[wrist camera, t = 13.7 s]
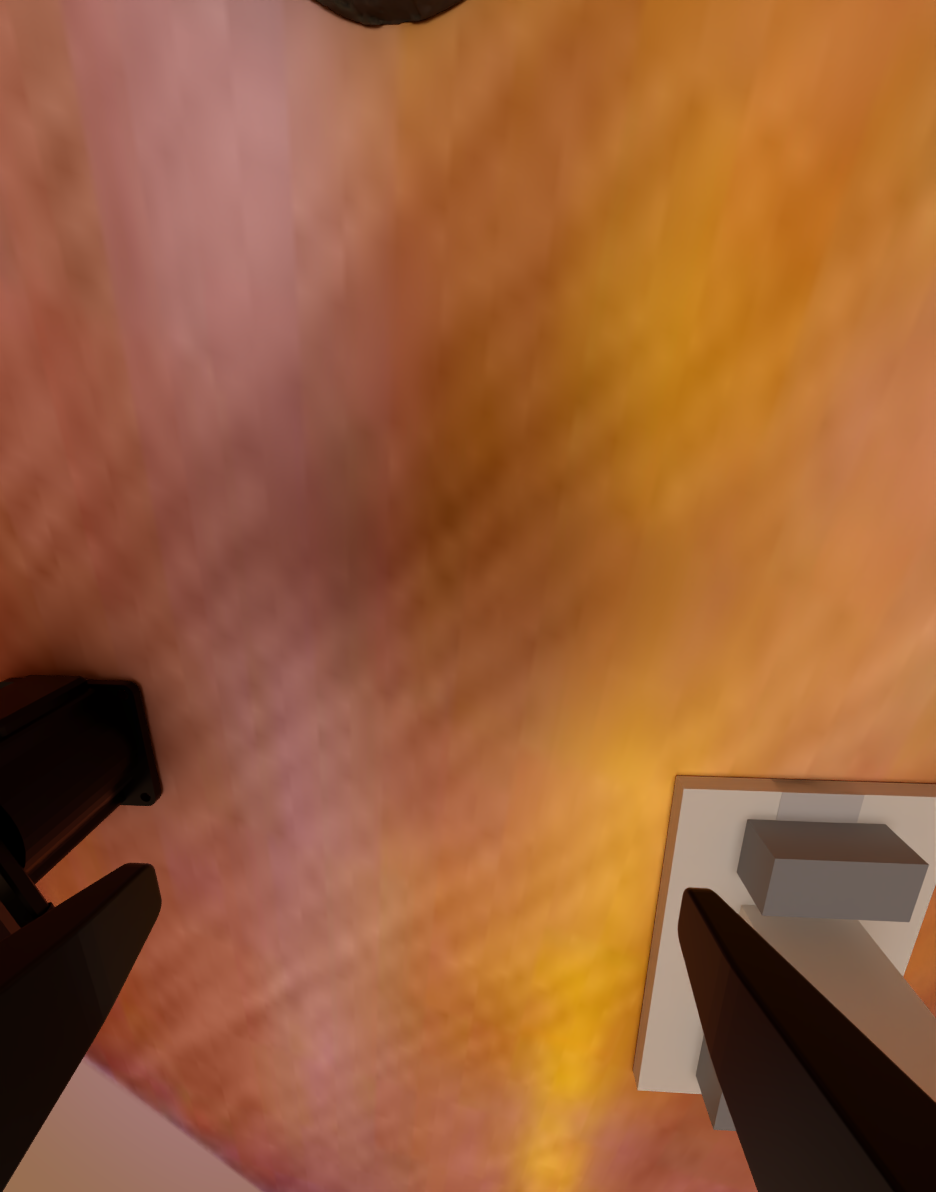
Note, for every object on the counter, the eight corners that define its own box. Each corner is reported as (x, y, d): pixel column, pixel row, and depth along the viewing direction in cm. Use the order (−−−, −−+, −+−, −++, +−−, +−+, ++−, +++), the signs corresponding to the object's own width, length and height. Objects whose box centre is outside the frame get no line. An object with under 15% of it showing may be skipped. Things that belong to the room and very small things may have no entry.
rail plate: (846, 1083, 27) (890, 1160, 24) (632, 1070, 28) (650, 1144, 25) (946, 784, 21) (1020, 836, 18) (676, 775, 22) (705, 825, 19)
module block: (827, 987, 24) (1093, 1404, 13) (724, 982, 24) (905, 1388, 14) (850, 908, 23) (1167, 1305, 12) (740, 903, 23) (956, 1290, 12)
